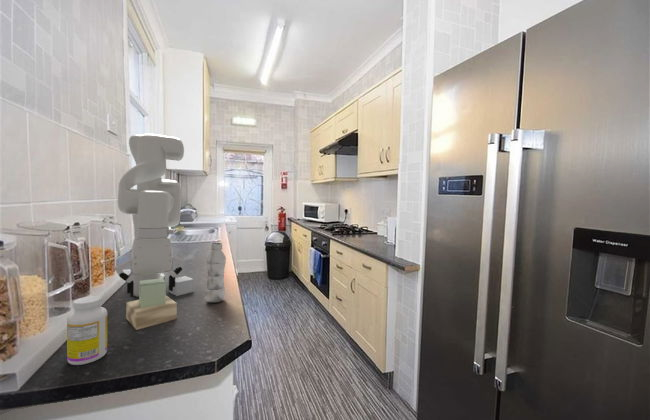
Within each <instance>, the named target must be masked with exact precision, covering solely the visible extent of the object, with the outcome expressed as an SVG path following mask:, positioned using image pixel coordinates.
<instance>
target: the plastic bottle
mask: <svg viewBox="0 0 650 420" xmlns="http://www.w3.org/2000/svg"><path fill="white" fill-rule="evenodd" d="M205 261H206V262H205V263H206V269H207V271H206V273H207V282H206V288H205V294H204V297H205V300H206V301H207V302H208V303H214V304H215V303H220V302H222V301H224V299H225V297H226V289H225V279H224V278H225V269H226V262H227V258H226V255H225V254H224V252H223V243H222V242H213V243H210V252H209V253H208V255H207V256H206V259H205Z"/></svg>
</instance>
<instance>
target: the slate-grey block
mask: <svg viewBox="0 0 650 420" xmlns="http://www.w3.org/2000/svg"><path fill="white" fill-rule="evenodd" d="M168 293H170V294H171V295H175V296H176V297H178V296H183V295H186V294H187V295H188V294H190V293H194V278H191V277H189V276H186V275H184V276H183V275H182V276H178V277H175V287H173V291H170V290H169V289H168Z"/></svg>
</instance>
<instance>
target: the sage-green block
mask: <svg viewBox="0 0 650 420" xmlns="http://www.w3.org/2000/svg"><path fill="white" fill-rule="evenodd" d="M166 286H167V282H166V280H165V279H164V278H159V279H151V280H142V281H140V282H139V297H138V300H139V302H140V308H144V307H149V306H155V305H161V304H166V296H167V294H166V293H167V292H166V291H167V290H166V289H167V287H166Z"/></svg>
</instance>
